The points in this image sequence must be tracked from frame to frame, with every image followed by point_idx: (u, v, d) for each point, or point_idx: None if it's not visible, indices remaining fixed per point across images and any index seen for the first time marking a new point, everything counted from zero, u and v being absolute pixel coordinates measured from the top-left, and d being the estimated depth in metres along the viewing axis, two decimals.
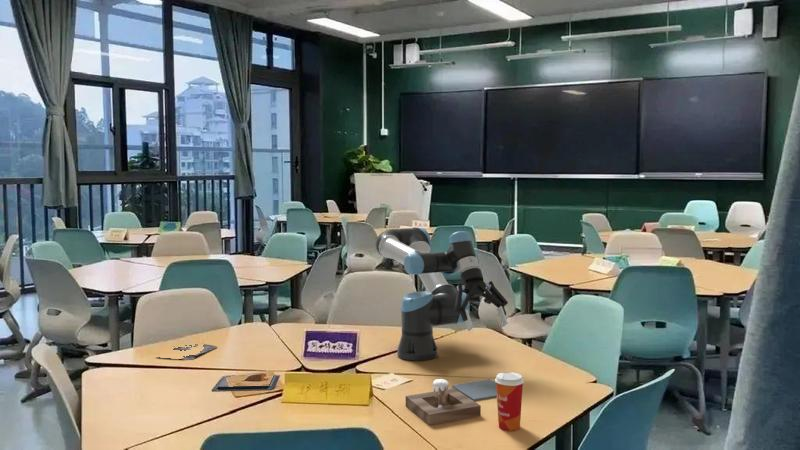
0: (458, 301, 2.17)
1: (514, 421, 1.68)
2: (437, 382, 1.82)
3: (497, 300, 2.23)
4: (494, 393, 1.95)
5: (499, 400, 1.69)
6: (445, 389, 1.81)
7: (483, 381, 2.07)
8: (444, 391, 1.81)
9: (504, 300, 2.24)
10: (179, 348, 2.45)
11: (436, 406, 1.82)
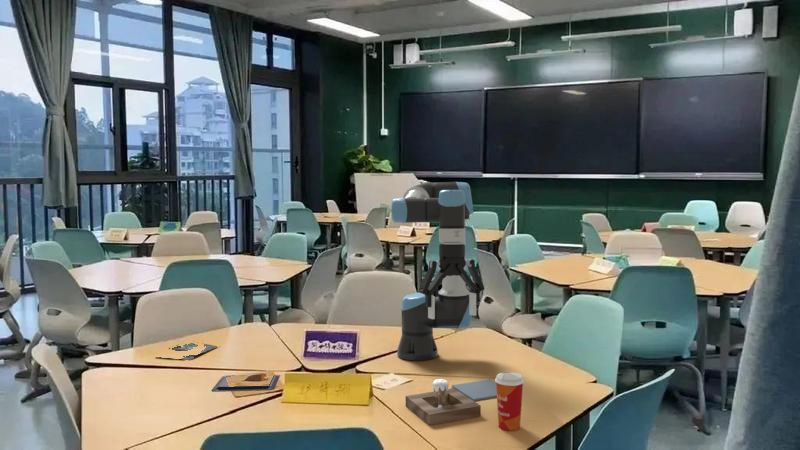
0: (426, 284, 1.80)
1: (514, 421, 1.68)
2: (437, 382, 1.82)
3: (473, 285, 1.86)
4: (494, 393, 1.95)
5: (499, 400, 1.69)
6: (445, 389, 1.81)
7: (483, 381, 2.07)
8: (444, 391, 1.81)
9: (481, 285, 1.87)
10: (178, 348, 2.44)
11: (436, 406, 1.82)
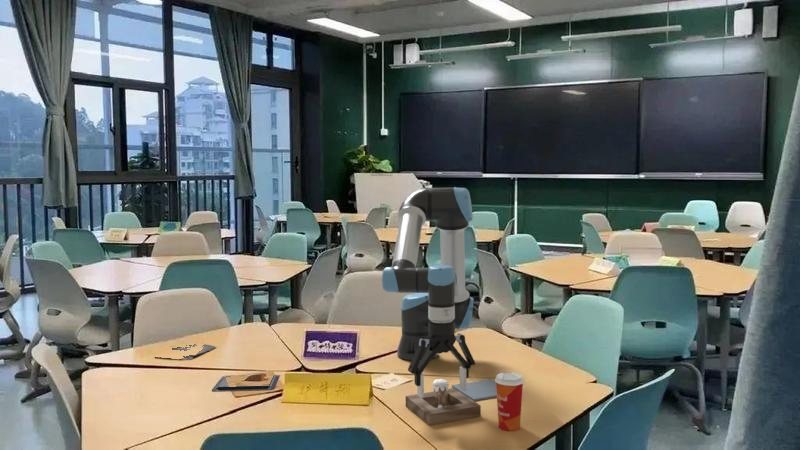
0: (415, 364, 1.78)
1: (514, 421, 1.68)
2: (437, 382, 1.82)
3: (463, 361, 1.84)
4: (494, 393, 1.95)
5: (499, 400, 1.69)
6: (445, 389, 1.81)
7: (483, 381, 2.07)
8: (444, 391, 1.81)
9: (471, 360, 1.85)
10: (178, 348, 2.44)
11: (436, 406, 1.82)
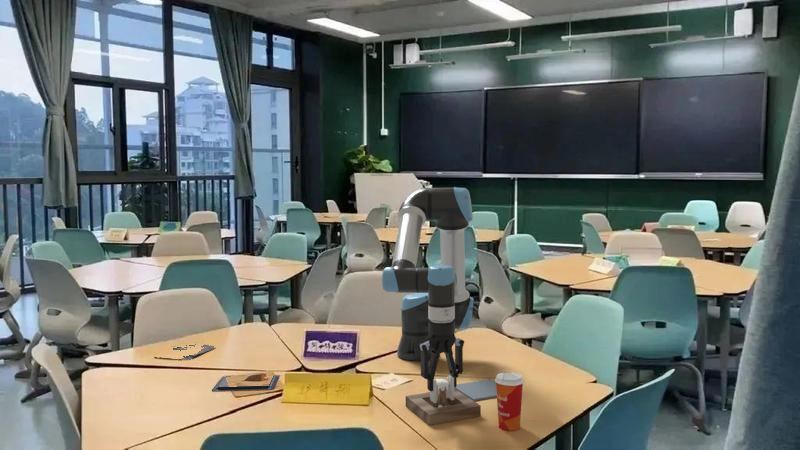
0: (425, 369, 1.79)
1: (514, 421, 1.68)
2: (437, 382, 1.82)
3: (453, 367, 1.83)
4: (494, 393, 1.95)
5: (499, 400, 1.69)
6: (445, 389, 1.81)
7: (483, 381, 2.07)
8: (444, 391, 1.81)
9: (460, 368, 1.84)
10: (177, 348, 2.44)
11: (436, 406, 1.82)
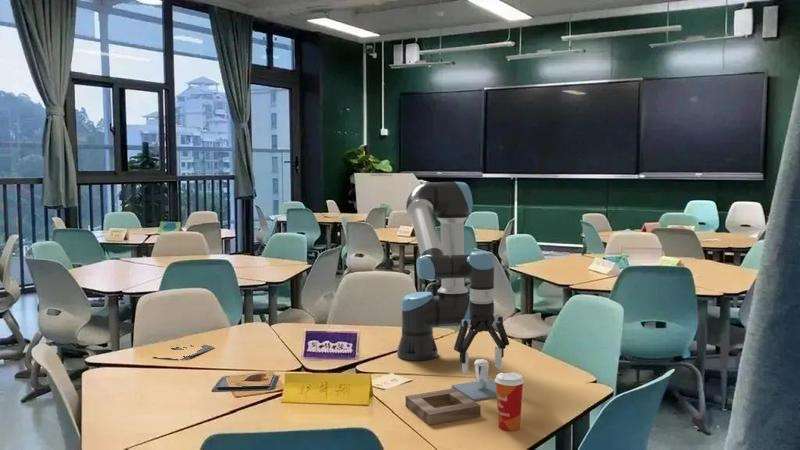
0: (460, 343, 1.94)
1: (514, 421, 1.68)
2: (478, 362, 1.98)
3: (499, 341, 2.00)
4: (494, 393, 1.95)
5: (499, 400, 1.69)
6: (486, 368, 1.98)
7: None
8: (485, 370, 1.98)
9: (506, 341, 2.01)
10: (176, 348, 2.45)
11: (477, 384, 1.99)
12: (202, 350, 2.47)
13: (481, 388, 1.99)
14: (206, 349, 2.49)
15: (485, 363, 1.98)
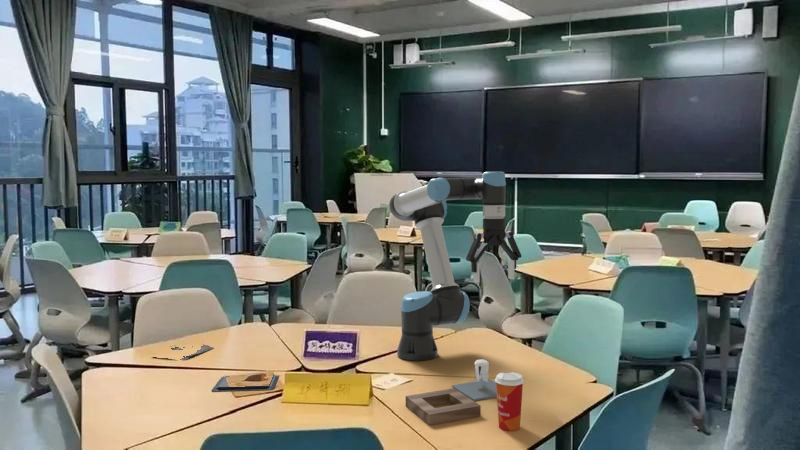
0: (472, 253, 2.10)
1: (514, 421, 1.68)
2: (478, 362, 1.98)
3: (511, 253, 2.16)
4: (494, 393, 1.95)
5: (499, 400, 1.69)
6: (486, 368, 1.98)
7: None
8: (485, 370, 1.98)
9: (518, 253, 2.17)
10: (175, 348, 2.45)
11: (477, 384, 1.99)
12: (201, 350, 2.47)
13: (481, 389, 1.99)
14: (205, 349, 2.49)
15: (485, 363, 1.98)
